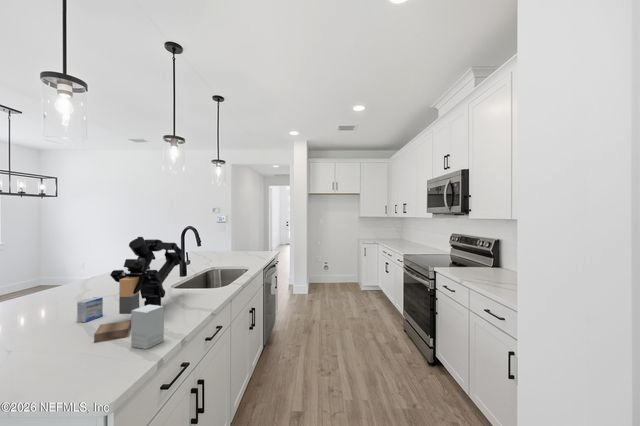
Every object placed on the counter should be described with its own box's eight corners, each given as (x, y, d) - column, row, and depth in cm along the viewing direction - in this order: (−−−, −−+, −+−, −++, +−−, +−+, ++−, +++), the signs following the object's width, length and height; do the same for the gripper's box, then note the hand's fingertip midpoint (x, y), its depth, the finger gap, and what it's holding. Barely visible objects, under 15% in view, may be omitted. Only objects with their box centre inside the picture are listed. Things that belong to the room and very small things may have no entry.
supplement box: (164, 340, 102) (164, 305, 102) (145, 349, 95) (146, 312, 95) (149, 337, 104) (149, 303, 104) (130, 346, 97) (130, 310, 97)
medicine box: (85, 322, 119) (85, 302, 119) (76, 322, 120) (76, 301, 120) (103, 316, 127) (103, 297, 127) (94, 315, 127) (95, 296, 128)
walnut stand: (131, 327, 114) (131, 320, 114) (127, 336, 105) (127, 328, 105) (100, 332, 109) (100, 324, 109) (94, 342, 100) (94, 334, 100)
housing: (127, 309, 119) (127, 276, 119) (139, 309, 119) (139, 276, 119) (119, 313, 114) (119, 279, 114) (131, 313, 114) (132, 279, 114)
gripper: (113, 251, 120) (93, 283, 109) (157, 251, 121) (142, 282, 110) (125, 266, 128) (107, 297, 117) (166, 266, 129) (153, 297, 118)
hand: (127, 293), depth 115 cm, fingers closed on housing, 5 cm apart
